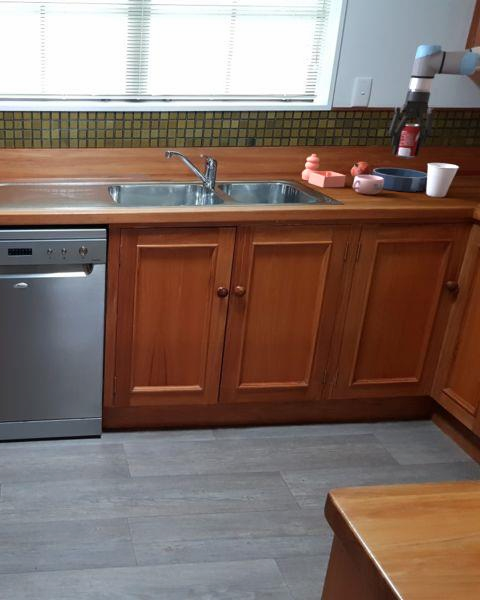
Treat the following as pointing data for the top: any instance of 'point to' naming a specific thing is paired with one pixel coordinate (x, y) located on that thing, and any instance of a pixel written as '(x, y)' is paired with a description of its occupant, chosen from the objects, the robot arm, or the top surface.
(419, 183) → the bowl
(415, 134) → the soda can
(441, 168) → the cup
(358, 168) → the pomegranate
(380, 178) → the mug
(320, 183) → the pottery
